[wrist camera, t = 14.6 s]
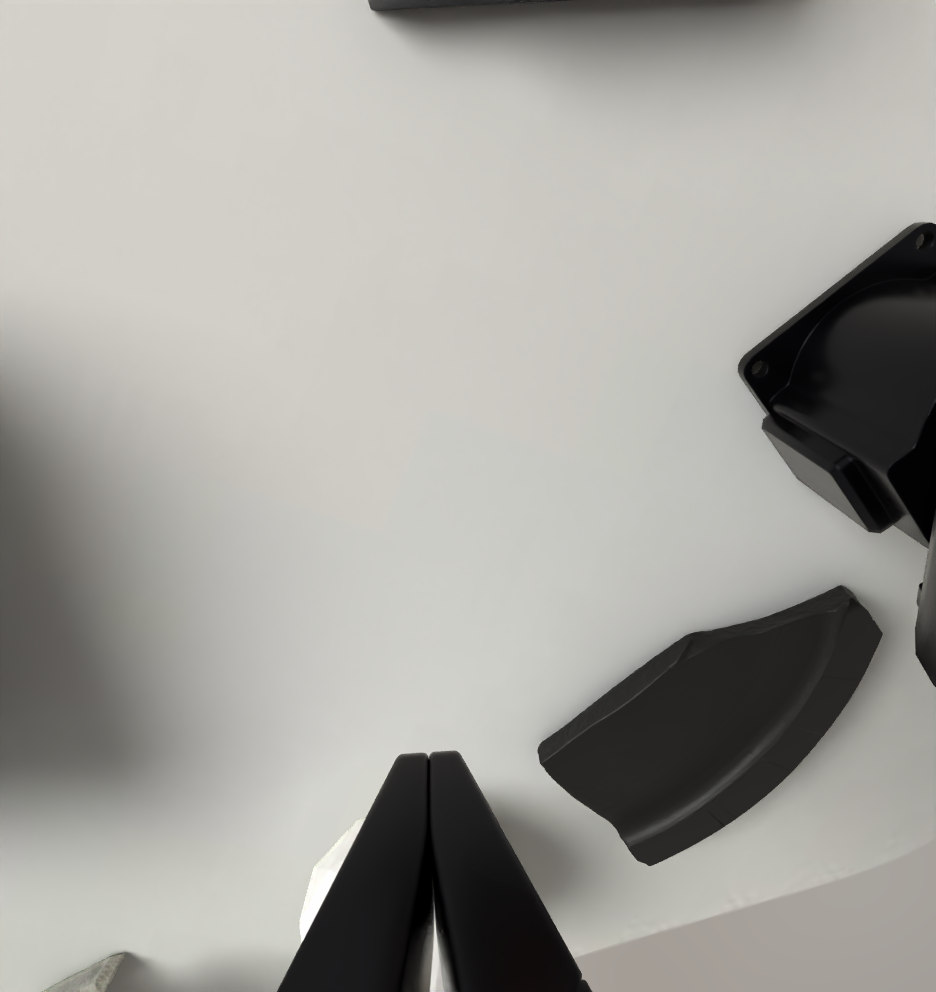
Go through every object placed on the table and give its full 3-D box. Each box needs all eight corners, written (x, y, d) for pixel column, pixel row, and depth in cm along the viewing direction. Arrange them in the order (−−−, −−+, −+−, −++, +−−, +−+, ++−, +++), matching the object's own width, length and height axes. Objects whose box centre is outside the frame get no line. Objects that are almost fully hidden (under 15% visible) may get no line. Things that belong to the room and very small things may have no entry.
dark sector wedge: (911, 672, 26) (940, 701, 25) (640, 838, 29) (651, 872, 28) (815, 542, 23) (842, 566, 22) (525, 742, 26) (531, 774, 25)
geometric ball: (377, 756, 30) (331, 800, 22) (534, 840, 29) (545, 919, 21) (300, 918, 29) (222, 1026, 21) (460, 1013, 27) (442, 1165, 20)
